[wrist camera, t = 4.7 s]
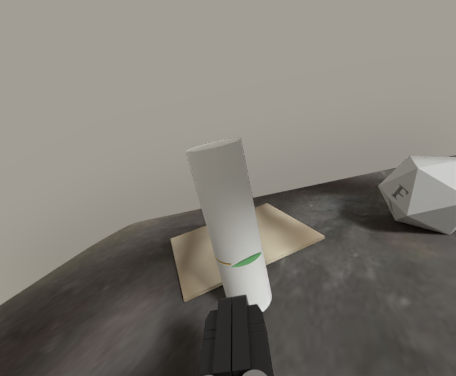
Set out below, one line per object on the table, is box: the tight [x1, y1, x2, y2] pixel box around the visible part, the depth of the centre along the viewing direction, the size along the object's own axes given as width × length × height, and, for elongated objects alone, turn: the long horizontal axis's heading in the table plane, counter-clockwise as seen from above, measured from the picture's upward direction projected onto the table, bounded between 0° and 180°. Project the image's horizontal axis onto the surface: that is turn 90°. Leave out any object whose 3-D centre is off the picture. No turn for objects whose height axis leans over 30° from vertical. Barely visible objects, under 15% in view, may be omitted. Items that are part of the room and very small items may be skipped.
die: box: [378, 156, 456, 235], centre depth 25 cm, size 8×9×10 cm
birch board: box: [171, 203, 324, 302], centre depth 31 cm, size 18×14×1 cm
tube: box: [186, 138, 272, 312], centre depth 19 cm, size 4×4×15 cm
